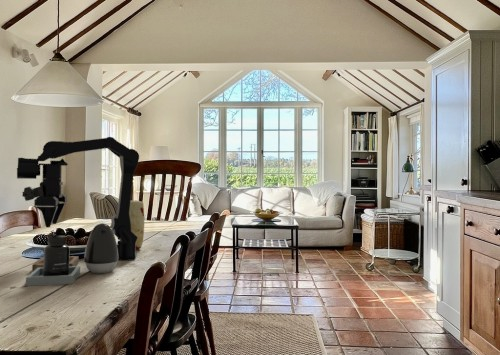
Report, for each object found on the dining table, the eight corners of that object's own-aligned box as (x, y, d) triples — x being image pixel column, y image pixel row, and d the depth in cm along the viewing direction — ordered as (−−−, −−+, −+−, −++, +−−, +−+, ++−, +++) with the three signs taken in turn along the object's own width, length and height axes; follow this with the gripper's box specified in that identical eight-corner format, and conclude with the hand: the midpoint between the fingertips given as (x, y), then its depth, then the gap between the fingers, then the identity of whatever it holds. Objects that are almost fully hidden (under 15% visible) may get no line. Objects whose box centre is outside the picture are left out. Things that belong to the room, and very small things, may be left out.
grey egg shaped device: (85, 277, 122) (86, 226, 122) (82, 269, 131) (83, 222, 131) (121, 273, 127) (121, 224, 127) (115, 266, 136) (116, 220, 136)
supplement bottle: (59, 281, 115) (59, 238, 115) (37, 279, 117) (38, 237, 117) (74, 275, 122) (74, 235, 122) (53, 273, 123) (54, 234, 123)
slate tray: (80, 273, 126) (80, 266, 126) (73, 283, 115) (73, 275, 115) (37, 274, 124) (37, 267, 124) (25, 285, 112) (25, 277, 112)
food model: (117, 251, 162) (118, 200, 162) (119, 248, 168) (120, 199, 168) (143, 250, 164) (144, 200, 163) (144, 247, 170) (145, 199, 170)
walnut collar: (78, 263, 140) (78, 256, 140) (72, 271, 128) (72, 263, 128) (41, 264, 137) (42, 257, 137) (32, 272, 126) (32, 264, 126)
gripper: (33, 178, 145) (32, 222, 145) (16, 179, 126) (15, 229, 127) (67, 178, 147) (66, 222, 147) (55, 179, 129) (54, 229, 129)
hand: (51, 225), depth 138 cm, fingers open, 9 cm apart
